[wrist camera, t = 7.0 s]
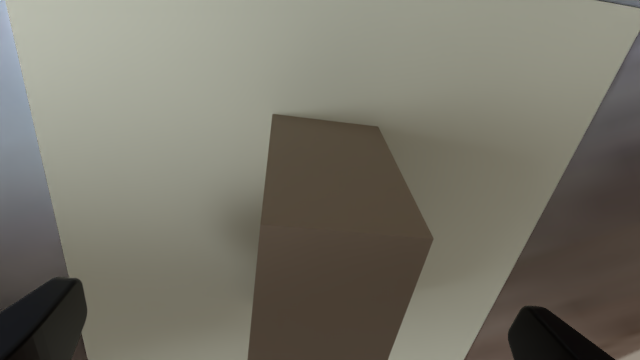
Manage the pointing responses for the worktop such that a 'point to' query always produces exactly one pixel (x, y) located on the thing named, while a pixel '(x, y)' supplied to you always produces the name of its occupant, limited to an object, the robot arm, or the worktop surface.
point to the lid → (305, 163)
